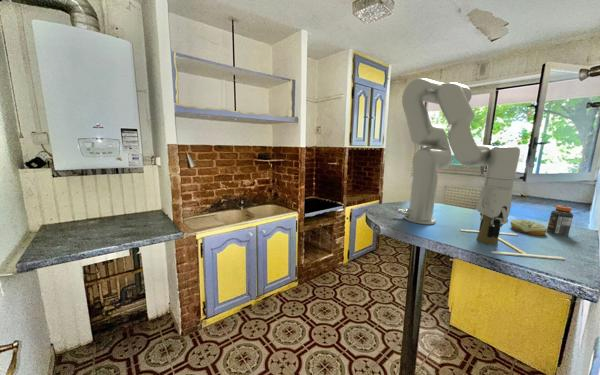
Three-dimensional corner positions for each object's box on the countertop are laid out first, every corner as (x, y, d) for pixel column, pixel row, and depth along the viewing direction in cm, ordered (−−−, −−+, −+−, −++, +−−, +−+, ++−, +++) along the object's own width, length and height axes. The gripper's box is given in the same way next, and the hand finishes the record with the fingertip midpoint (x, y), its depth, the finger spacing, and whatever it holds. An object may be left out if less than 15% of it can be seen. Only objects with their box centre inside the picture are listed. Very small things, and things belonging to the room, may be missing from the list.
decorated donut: (526, 236, 92) (528, 226, 91) (503, 226, 103) (504, 217, 102) (553, 237, 92) (555, 227, 92) (527, 227, 103) (529, 218, 102)
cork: (490, 238, 88) (496, 209, 85) (502, 246, 82) (508, 215, 80) (472, 237, 88) (478, 208, 86) (483, 244, 82) (489, 213, 80)
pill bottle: (544, 229, 99) (551, 203, 97) (565, 233, 96) (572, 206, 94) (548, 234, 94) (555, 206, 92) (570, 238, 91) (578, 209, 89)
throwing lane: (493, 253, 76) (493, 252, 75) (459, 230, 95) (460, 229, 95) (565, 260, 73) (565, 258, 73) (515, 234, 93) (515, 233, 93)
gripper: (472, 178, 89) (464, 225, 93) (503, 187, 73) (491, 243, 77) (494, 180, 88) (485, 227, 92) (530, 188, 72) (517, 245, 76)
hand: (488, 234), depth 84 cm, fingers closed on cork, 3 cm apart
